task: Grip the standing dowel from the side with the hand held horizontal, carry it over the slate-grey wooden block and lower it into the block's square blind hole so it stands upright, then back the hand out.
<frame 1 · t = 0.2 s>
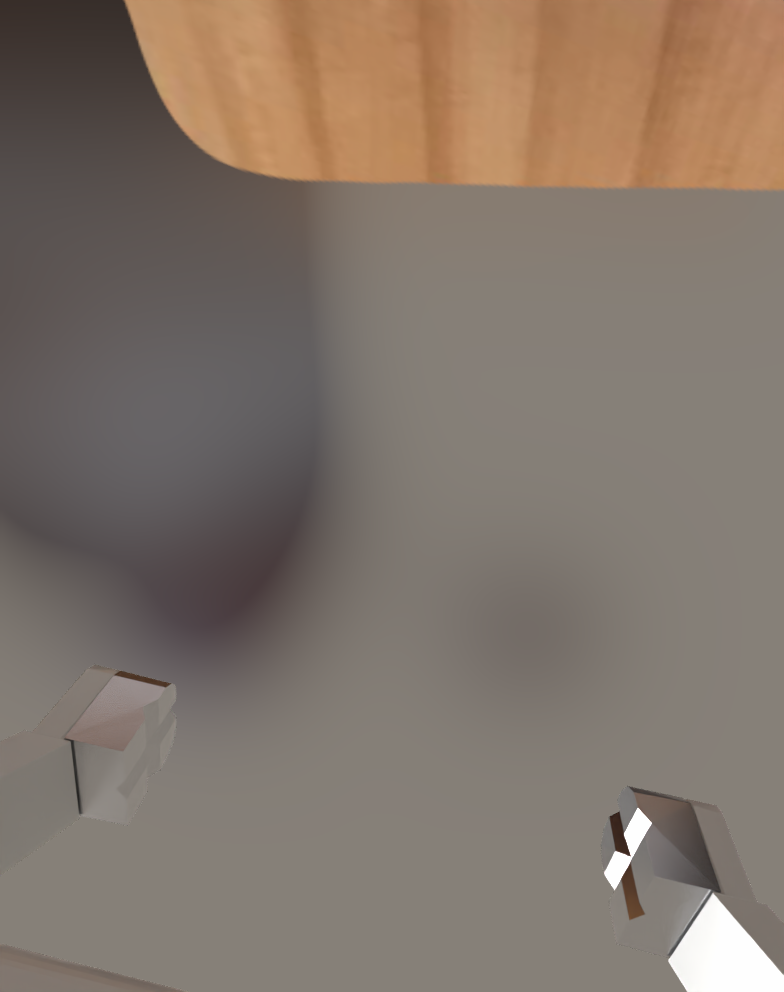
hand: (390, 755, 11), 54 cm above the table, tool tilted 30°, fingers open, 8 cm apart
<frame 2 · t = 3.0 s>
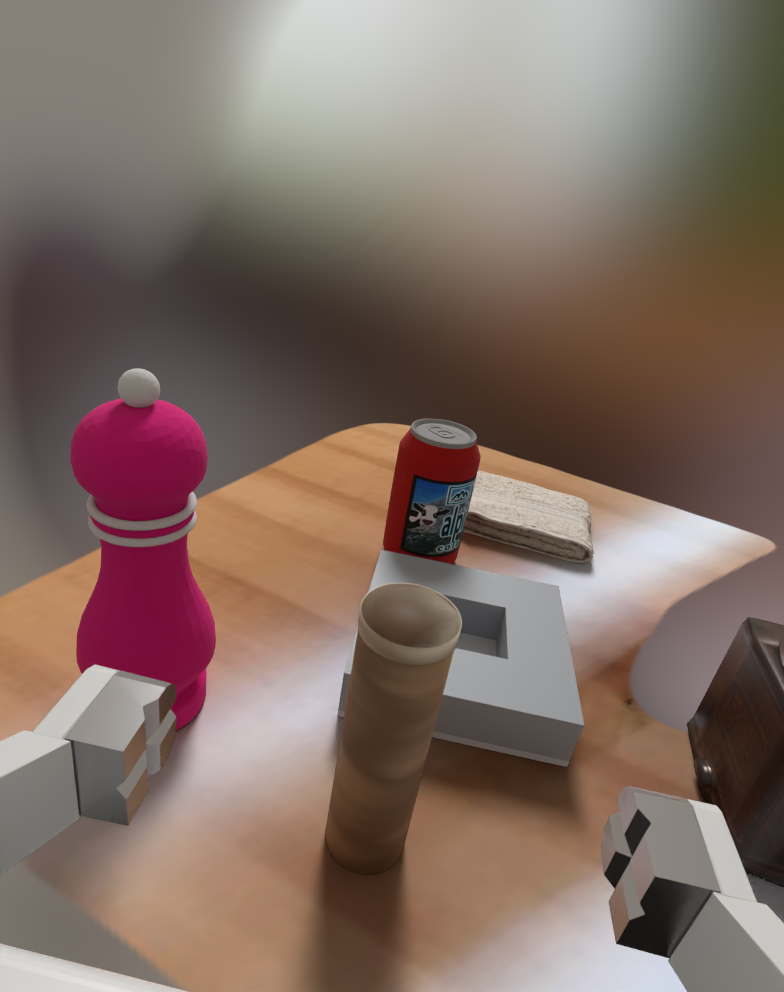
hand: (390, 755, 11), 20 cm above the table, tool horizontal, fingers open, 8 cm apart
beverage can: (418, 557, 55), on the table
washcloth: (501, 521, 65), on the table
hole block: (456, 662, 43), on the table
dowel: (365, 834, 31), on the table
pepper mill: (150, 700, 36), on the table
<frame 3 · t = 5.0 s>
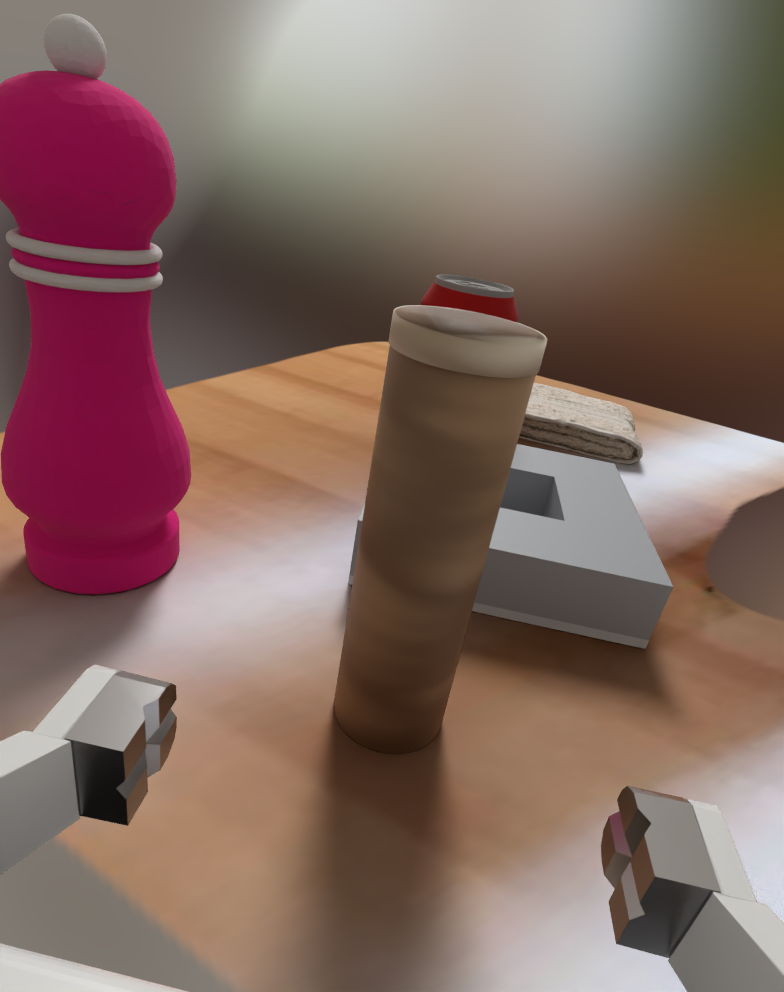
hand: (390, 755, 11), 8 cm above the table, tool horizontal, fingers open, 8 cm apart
beverage can: (440, 448, 47), on the table
washcloth: (532, 427, 56), on the table
hole block: (493, 541, 35), on the table
dowel: (388, 708, 22), on the table
pepper mill: (107, 558, 28), on the table
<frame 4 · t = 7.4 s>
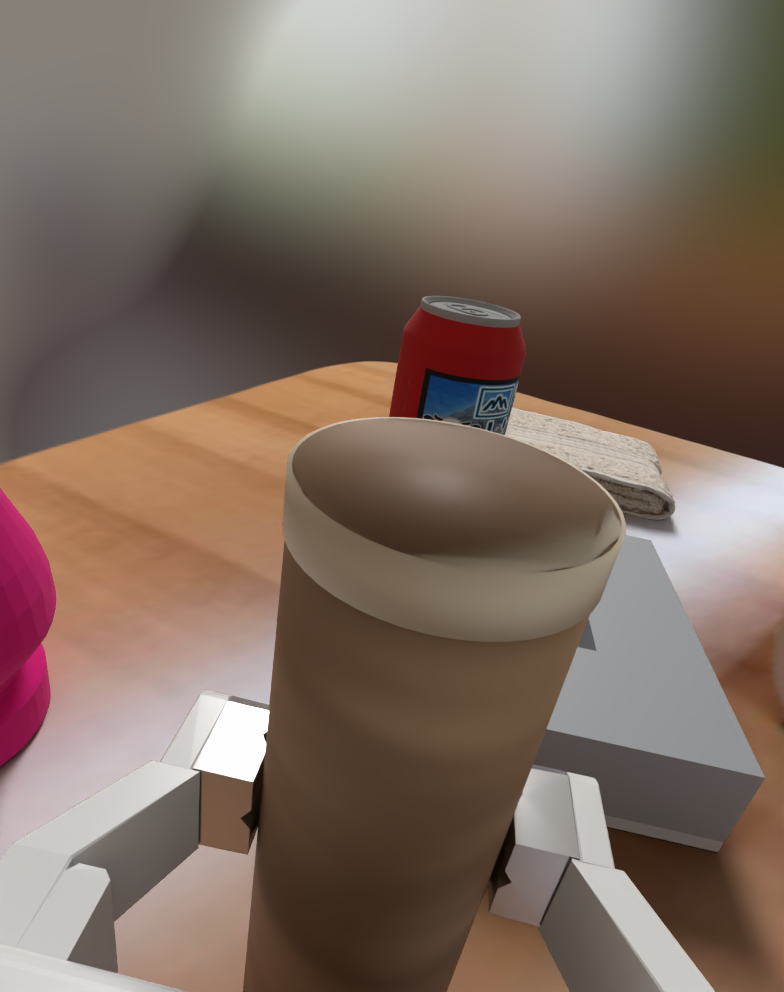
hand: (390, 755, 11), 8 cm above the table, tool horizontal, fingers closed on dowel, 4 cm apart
beverage can: (429, 507, 38), on the table
washcloth: (539, 469, 48), on the table
hole block: (496, 657, 26), on the table
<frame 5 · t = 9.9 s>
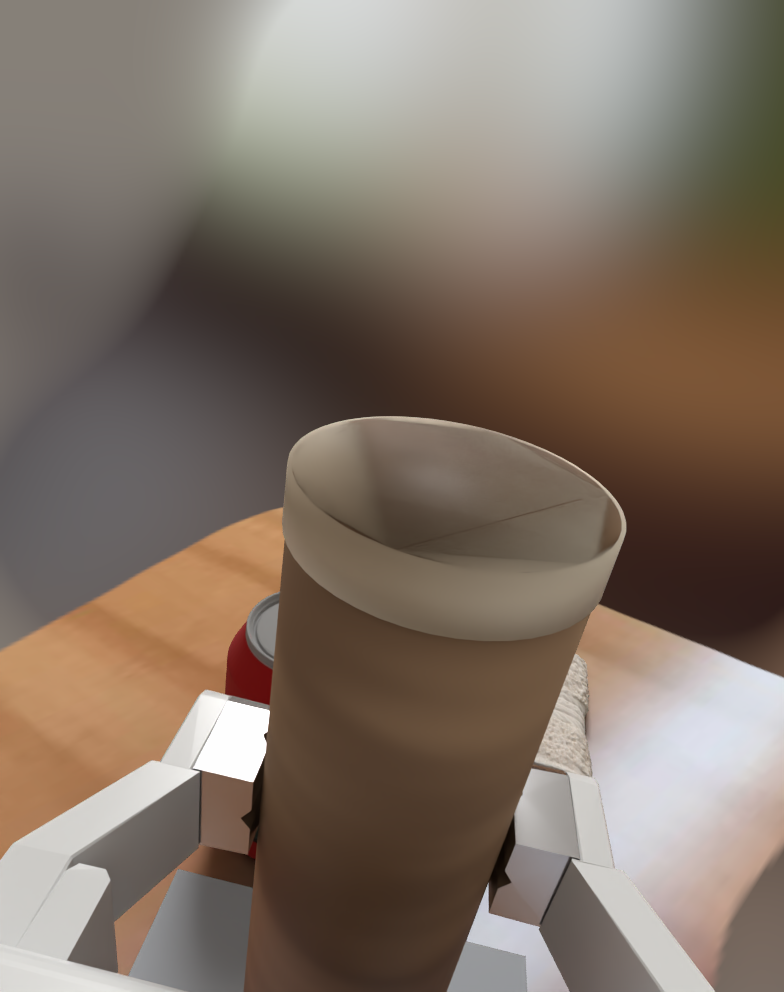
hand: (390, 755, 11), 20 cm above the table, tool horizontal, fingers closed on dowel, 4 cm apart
beverage can: (287, 813, 31), on the table
washcloth: (448, 696, 41), on the table
when the fingers open (9 cm above the table, at t = 12.8 s): dowel stays where it is, resting on hole block.
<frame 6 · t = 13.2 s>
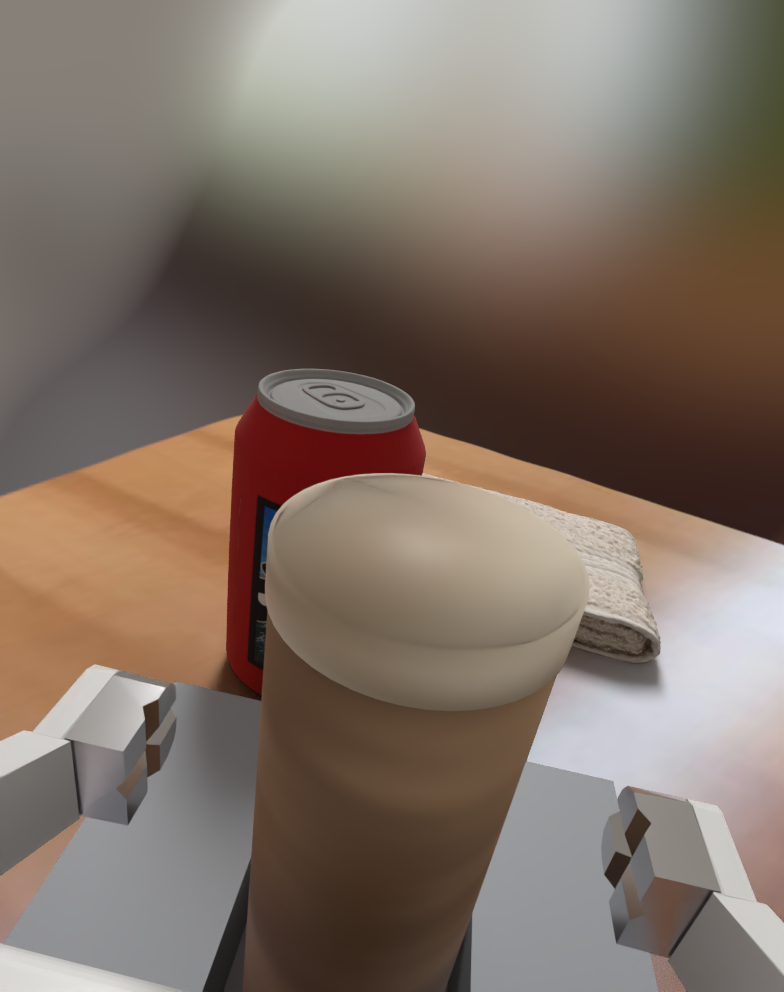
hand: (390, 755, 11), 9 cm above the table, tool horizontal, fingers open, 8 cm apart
beverage can: (305, 663, 26), on the table
washcloth: (483, 570, 36), on the table
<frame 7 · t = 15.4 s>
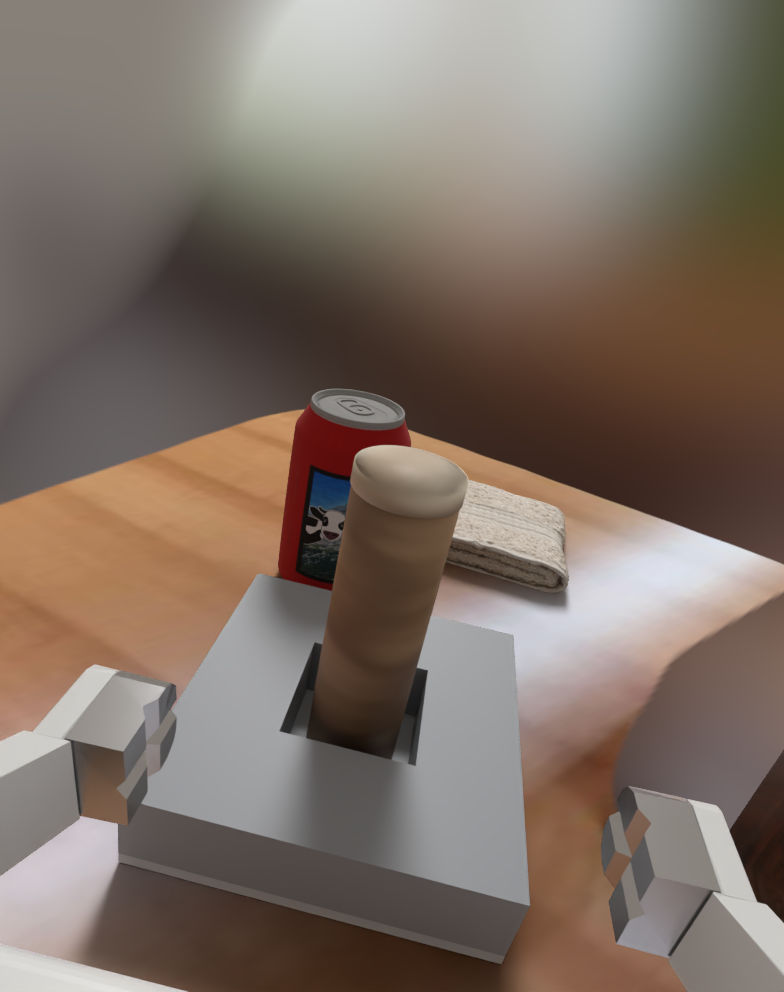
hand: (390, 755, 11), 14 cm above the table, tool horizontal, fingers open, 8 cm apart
beverage can: (328, 581, 40), on the table
washcloth: (451, 533, 50), on the table
hole block: (347, 754, 28), on the table
dowel: (349, 746, 28), point 1 cm above the table, touching hole block
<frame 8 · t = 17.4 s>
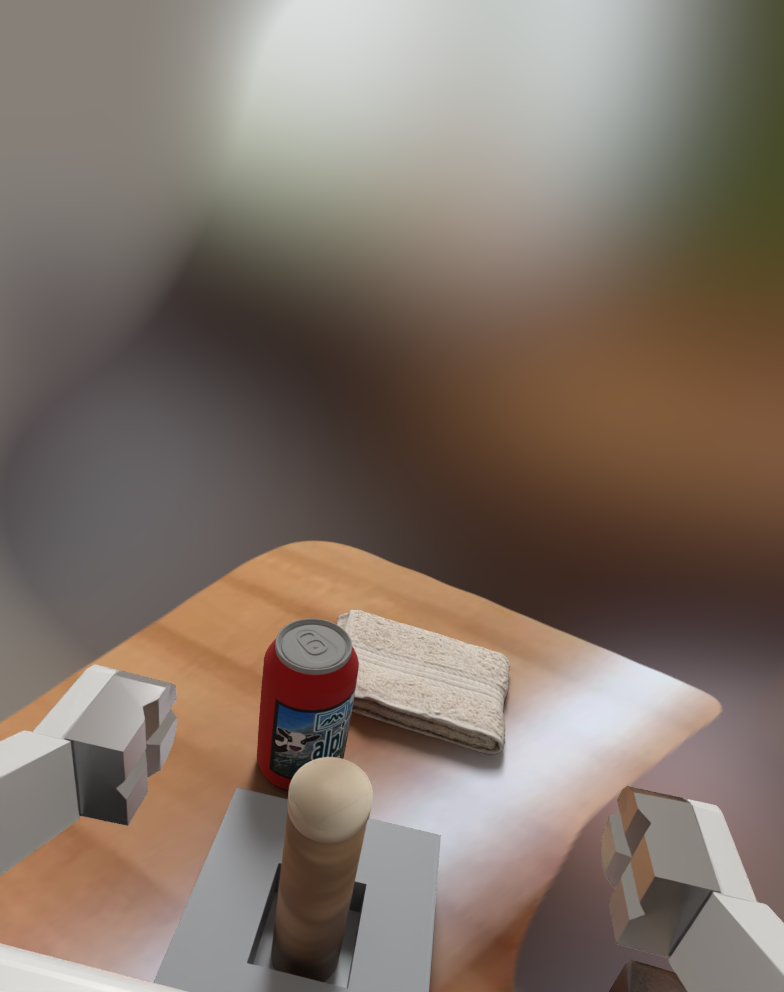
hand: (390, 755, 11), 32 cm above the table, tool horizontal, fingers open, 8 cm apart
beverage can: (299, 762, 48), on the table
washcloth: (410, 686, 58), on the table
hole block: (305, 954, 36), on the table
dowel: (306, 949, 36), point 1 cm above the table, touching hole block
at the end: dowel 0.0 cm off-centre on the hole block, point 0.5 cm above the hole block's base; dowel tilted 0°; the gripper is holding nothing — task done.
